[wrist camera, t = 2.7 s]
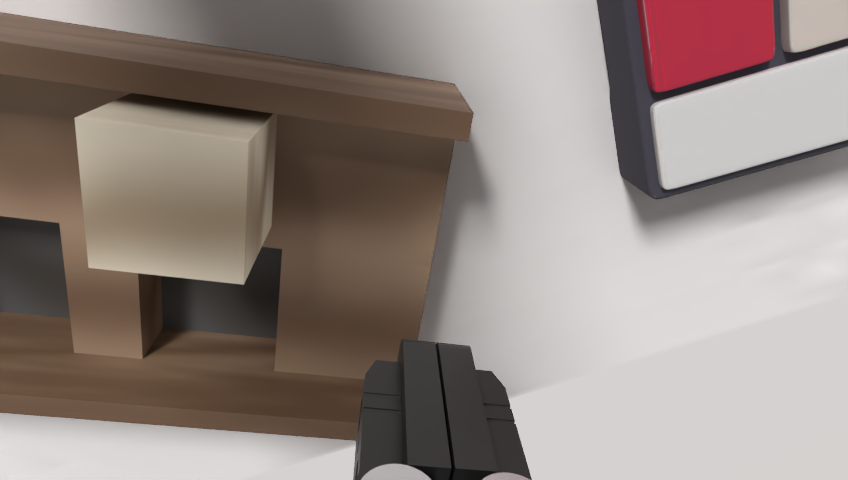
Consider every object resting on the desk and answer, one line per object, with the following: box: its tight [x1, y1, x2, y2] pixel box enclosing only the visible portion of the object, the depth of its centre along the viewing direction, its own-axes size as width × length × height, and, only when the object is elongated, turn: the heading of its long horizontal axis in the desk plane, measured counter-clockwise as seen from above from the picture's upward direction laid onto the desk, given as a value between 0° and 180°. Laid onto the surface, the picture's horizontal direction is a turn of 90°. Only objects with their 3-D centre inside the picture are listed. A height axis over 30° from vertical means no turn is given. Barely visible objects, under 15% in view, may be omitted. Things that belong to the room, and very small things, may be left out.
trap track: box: [0, 12, 473, 440], centre depth 23 cm, size 15×31×6 cm, turn 81°
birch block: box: [74, 93, 277, 285], centre depth 20 cm, size 5×5×5 cm
